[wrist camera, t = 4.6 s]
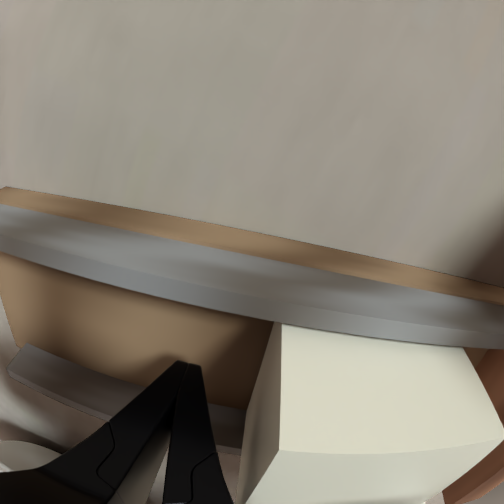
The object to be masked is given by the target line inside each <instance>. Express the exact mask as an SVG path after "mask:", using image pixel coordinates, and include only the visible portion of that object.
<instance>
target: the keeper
mask: <svg viewBox="0 0 504 504" xmlns="http://www.w3.org/2000/svg"><path fill="white" fill-rule="evenodd" d="M503 440H504V428H503V425H502V423H501V421H500V419H499V417H498V414H497V412H496V410H495V408H494V406H493V404H492V402H491V400H490V398H489V396H488V394H487V392H486V390H485V388H484V386H483V384H482V382H481V380H480V378H479V376H478V374H477V373H476V371H475V369H474V367H473V365H472V363H471V362H470V360H469V358H468V356H467V354H466V353H465V351H464V349H463V348H462V347H460V346H448V345H437V344H427V343H418V342H409V341H400V340H392V339H384V338H376V337H369V336H362V335H354V334H348V333H341V332H334V331H328V330H322V329H315V328H309V327H303V326H297V325H292V324H286V323H280V322H275V321H274V324H273V327H272V331H271V334H270V338H269V341H268V344H267V348H266V351H265V354H264V358H263V361H262V364H261V367H260V371H259V374H258V377H257V380H256V383H255V387H254V390H253V393H252V396H251V399H250V402H249V405H248V408H247V412H246V419H245V428H244V436H243V444H242V452H241V460H240V468H239V476H238V483H237V491H236V499H235V504H423V503H424V502H426V501H427V500H429V499H430V498H432V497H433V496H435V495H436V494H438V493H439V492H441V491H442V490H443V489H445V488H446V487H448V486H449V485H450V484H452V483H453V482H455V481H456V480H457V479H458V478H460V477H461V476H462V475H464V474H465V473H466V472H467V471H469V470H470V469H471V468H472V467H474V466H475V465H476V464H477V463H478V462H480V461H481V460H482V459H483V458H484V457H485V456H487V455H488V454H489V453H490V452H491V451H492V450H493V449H494V448H496V447H497V446H498V445H499V444H500V443H501V442H502V441H503Z"/></svg>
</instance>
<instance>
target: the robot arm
mask: <svg viewBox="0 0 504 504" xmlns="http://www.w3.org/2000/svg"><path fill="white" fill-rule="evenodd" d="M169 443H170V444H169ZM168 446H169V452H168V459H167V467H166V475H165V483H164V492H163V501H162V504H234V503H233V500H232V498H231V495H230V493H229V491H228V488H227V485H226V483H225V480H224V477H223V473H222V470H221V466H220V462H219V457H218V453H217V449H216V444H215V439H214V434H213V429H212V424H211V419H210V413H209V408H208V403H207V397H206V391H205V386H204V380H203V374H202V368H201V366H200V365H198V364H193V363H188V362H185V361H181V360H176V361H175V362H174V363H173V364H172V365H171V366H169V367H168V368H167V369H166V370H165V371H164V372H163V373H162V374H161V375H159V376H158V377H157V378H156V379H155V380H154V381H153V382H152V383H151V384H149V385H148V386H147V387H146V388H145V389H144V390H143V391H142V392H141V393H139V394H138V395H137V396H136V397H135V398H134V399H133V400H132V401H130V402H129V403H128V404H127V405H126V406H125V407H124V408H122V409H121V410H120V411H119V412H118V413H117V414H116V415H114V416H113V417H112V418H111V419H110V420H109V422H106V423H105V424H104V425H103V426H102V427H101V428H99V429H98V430H97V431H96V432H94V433H93V434H92V435H91V436H89V437H88V438H87V439H85V440H84V441H82V442H81V443H79V444H78V445H76V446H75V447H73V448H71V449H70V450H68V451H67V452H65V453H63V454H62V455H60V456H59V457H57V458H55V459H54V460H52V461H50V462H49V463H47V464H45V465H43V466H40V467H37V468H33V469H27V470H19V471H9V472H0V504H145V503H146V501H147V498H148V496H149V493H150V491H151V488H152V486H153V483H154V481H155V478H156V476H157V473H158V471H159V468H160V466H161V463H162V461H163V458H164V456H165V453H166V451H167V448H168Z"/></svg>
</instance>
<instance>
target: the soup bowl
mask: <svg viewBox="0 0 504 504" xmlns="http://www.w3.org/2000/svg"><path fill="white" fill-rule="evenodd" d="M60 455H62V454H60V453H57V452H55V451H53V450H50V449H48V448H45V447H42V446H39V445H36V444H33V443H29V442H23V441H10V440H9V441H0V472H9V471H19V470H27V469H33V468H37V467H40V466H43V465H45V464H47V463H49V462H50V461H52V460H54V459H55V458H57V457H59V456H60Z"/></svg>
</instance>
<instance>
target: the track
mask: <svg viewBox="0 0 504 504" xmlns="http://www.w3.org/2000/svg"><path fill="white" fill-rule="evenodd" d="M0 295H1V299H2V302H3V306H4V309H5V312H6V316H7V319H8V322H9V325H10V328H11V331H12V334H13V337H14V339H15V342H16V345H17V346H18V347H20V348H22V349H21V350H20V351H19V353H18V354H17V355H16V356H15V357H14V359H13V360H12V361H11V363H10V364H9V365H8V366H7V368H6V370H7V372H8V374H9V376H10V377H11V378H13V379H15V380H17V381H19V382H20V383H22V384H24V385H26V386H28V387H30V388H32V389H34V390H36V391H38V392H40V393H42V394H44V395H46V396H48V397H50V398H52V399H54V400H57V401H59V402H61V403H63V404H66V405H68V406H70V407H72V408H75V409H77V410H80V411H82V412H84V413H87V414H89V415H92V416H95V417H97V418H100V419H102V420H105V421H108V422H109V420H110V419H111V418H112V417H113V416H114V415H116V414H117V413H118V412H119V411H120V410H121V409H122V408H124V407H125V406H126V405H127V404H128V403H129V402H130V401H132V400H133V399H134V398H135V397H136V396H137V395H138V394H139V393H141V392H142V391H143V390H144V389H145V388H146V387H147V386H148V385H149V384H151V383H152V382H153V381H154V380H155V379H156V378H157V377H158V376H159V375H161V374H162V373H163V372H164V371H165V370H166V369H167V368H168V367H169V366H171V365H172V364H173V363H174V362H175V361H176V360H181V361H185V362H188V363H193V364H198V365H200V366H201V368H202V374H203V380H204V386H205V391H206V397H207V403H208V408H209V413H210V419H211V424H212V429H213V434H214V439H215V444H216V449H217V451H218V452H223V453H229V454H234V455H241V452H242V444H243V436H244V428H245V419H246V412H247V408H248V405H249V402H250V399H251V396H252V393H253V390H254V387H255V383H256V380H257V377H258V374H259V371H260V367H261V364H262V361H263V358H264V354H265V351H266V348H267V344H268V341H269V338H270V334H271V331H272V327H273V324H274V321H275V322H280V323H286V324H292V325H297V326H303V327H309V328H315V329H322V330H328V331H334V332H341V333H348V334H354V335H362V336H369V337H376V338H384V339H392V340H400V341H409V342H418V343H427V344H437V345H448V346H460V347H462V348H463V349H464V351H465V353H466V354H467V356H468V358H469V360H470V362H471V363H472V365H473V367H474V369H475V371H476V373H477V374H478V376H479V378H480V380H481V382H482V384H483V386H484V388H485V390H486V392H487V394H488V396H489V398H490V400H491V402H492V404H493V406H494V408H495V410H496V412H497V414H498V417H499V419H500V421H501V423H502V425H503V428H504V288H502V287H498V286H494V285H490V284H486V283H481V282H477V281H473V280H469V279H465V278H461V277H457V276H452V275H448V274H444V273H440V272H435V271H431V270H427V269H422V268H418V267H414V266H409V265H405V264H401V263H396V262H392V261H387V260H383V259H378V258H374V257H369V256H365V255H360V254H356V253H351V252H347V251H342V250H337V249H333V248H328V247H323V246H319V245H314V244H309V243H305V242H300V241H295V240H290V239H285V238H281V237H276V236H271V235H266V234H261V233H256V232H251V231H246V230H241V229H236V228H231V227H226V226H221V225H216V224H211V223H206V222H201V221H196V220H191V219H185V218H180V217H175V216H170V215H164V214H159V213H154V212H148V211H143V210H138V209H132V208H127V207H121V206H116V205H110V204H105V203H99V202H93V201H88V200H82V199H76V198H70V197H65V196H59V195H53V194H47V193H41V192H35V191H29V190H23V189H16V188H10V187H4V188H2V189H0ZM503 481H504V440H503V441H502V442H501V443H500V444H499V445H498V446H497V447H496V448H494V449H493V450H492V451H491V452H490V453H489V454H488V455H487V456H485V457H484V458H483V459H482V460H481V461H480V462H478V463H477V464H476V465H475V466H474V467H472V468H471V469H470V470H469V471H467V472H466V473H465V474H464V475H462V476H461V477H460V478H458V479H457V480H456V481H455V482H453V483H452V484H450V485H449V486H448V487H446V488H445V489H443V490H442V493H443V497H444V502H445V504H463V503H466V502H469V501H472V500H475V499H478V498H481V497H482V496H483V495H485V494H486V493H488V492H489V491H491V490H492V489H493V488H495V487H496V486H497V485H499V484H500V483H501V482H503Z"/></svg>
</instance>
